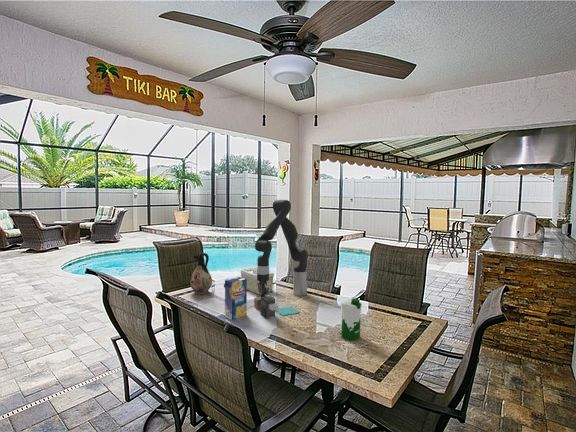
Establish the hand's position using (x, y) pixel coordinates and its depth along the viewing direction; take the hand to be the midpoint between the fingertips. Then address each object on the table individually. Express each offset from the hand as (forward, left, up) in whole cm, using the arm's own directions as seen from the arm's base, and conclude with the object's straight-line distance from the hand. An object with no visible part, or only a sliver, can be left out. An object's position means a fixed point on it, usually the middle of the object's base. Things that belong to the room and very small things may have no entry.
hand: (262, 300), depth 203 cm
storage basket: (-14, -45, -7) cm, 48 cm away
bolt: (0, +10, -1) cm, 10 cm away
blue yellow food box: (+17, 0, -7) cm, 19 cm away
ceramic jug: (+25, -54, -7) cm, 60 cm away
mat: (-14, +6, -7) cm, 17 cm away
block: (0, -7, -7) cm, 10 cm away
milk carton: (-27, +53, -7) cm, 60 cm away
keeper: (0, +8, -7) cm, 10 cm away
